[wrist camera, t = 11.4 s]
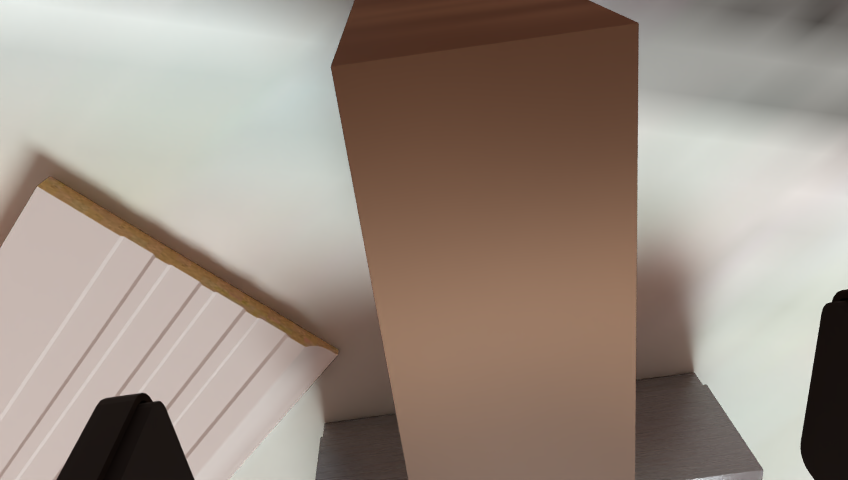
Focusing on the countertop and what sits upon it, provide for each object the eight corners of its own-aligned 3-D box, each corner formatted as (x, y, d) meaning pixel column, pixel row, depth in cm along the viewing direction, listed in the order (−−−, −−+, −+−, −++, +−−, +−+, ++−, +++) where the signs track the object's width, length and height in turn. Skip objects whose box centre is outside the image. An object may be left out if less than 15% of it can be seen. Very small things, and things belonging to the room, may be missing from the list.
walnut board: (366, -35, 18) (330, 66, 7) (478, -51, 18) (638, 23, 7) (424, 337, 24) (460, 758, 12) (511, 325, 24) (633, 736, 12)
